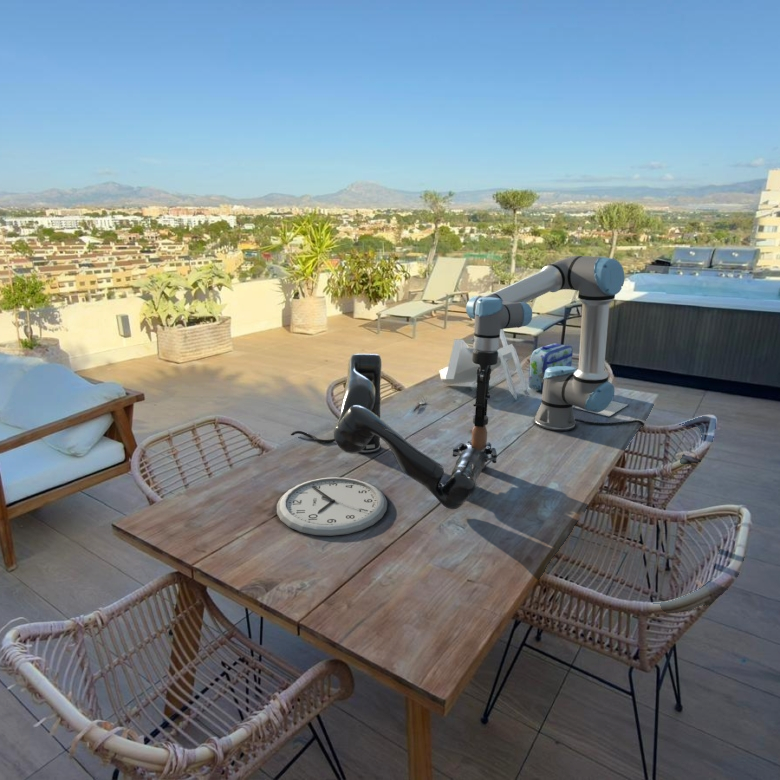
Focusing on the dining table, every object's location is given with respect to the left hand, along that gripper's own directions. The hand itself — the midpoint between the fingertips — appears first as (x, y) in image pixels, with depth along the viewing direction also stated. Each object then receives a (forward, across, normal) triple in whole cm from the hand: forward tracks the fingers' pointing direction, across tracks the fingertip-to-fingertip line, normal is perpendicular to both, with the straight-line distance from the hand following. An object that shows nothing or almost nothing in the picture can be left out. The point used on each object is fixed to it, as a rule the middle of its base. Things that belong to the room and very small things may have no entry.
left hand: (480, 443), depth 168 cm
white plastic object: (+76, -14, -7) cm, 78 cm away
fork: (+46, -34, -7) cm, 58 cm away
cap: (-3, 0, +10) cm, 10 cm away
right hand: (-3, 0, +8) cm, 9 cm away
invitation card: (+76, +39, -7) cm, 86 cm away
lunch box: (+97, +16, -7) cm, 98 cm away
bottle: (-3, 0, -7) cm, 7 cm away
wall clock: (-42, -32, -7) cm, 53 cm away
